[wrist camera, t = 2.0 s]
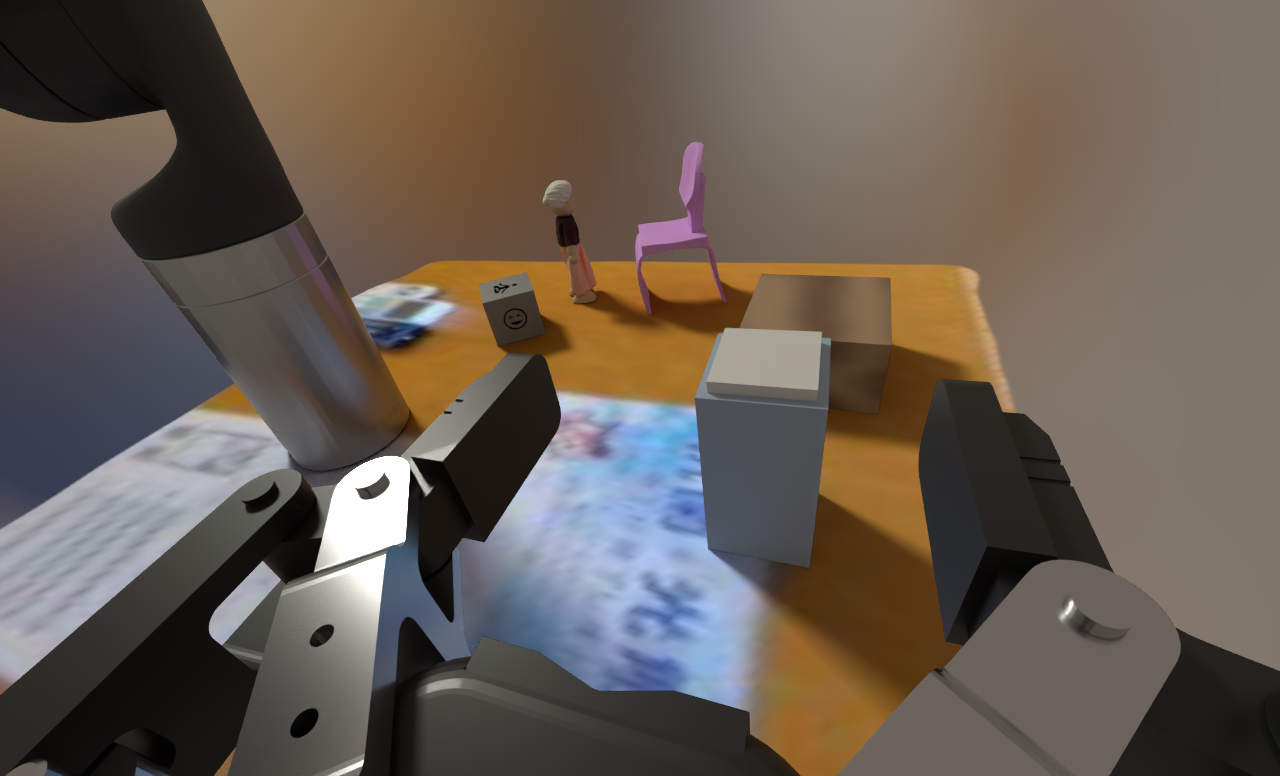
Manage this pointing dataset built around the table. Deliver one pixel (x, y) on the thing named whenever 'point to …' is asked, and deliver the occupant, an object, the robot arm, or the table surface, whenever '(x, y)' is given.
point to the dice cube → (512, 309)
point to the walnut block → (834, 328)
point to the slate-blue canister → (763, 441)
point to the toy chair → (679, 223)
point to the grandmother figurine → (571, 242)
